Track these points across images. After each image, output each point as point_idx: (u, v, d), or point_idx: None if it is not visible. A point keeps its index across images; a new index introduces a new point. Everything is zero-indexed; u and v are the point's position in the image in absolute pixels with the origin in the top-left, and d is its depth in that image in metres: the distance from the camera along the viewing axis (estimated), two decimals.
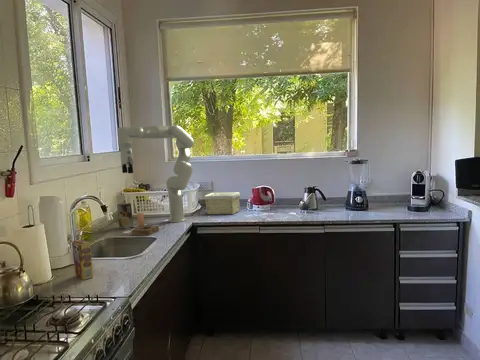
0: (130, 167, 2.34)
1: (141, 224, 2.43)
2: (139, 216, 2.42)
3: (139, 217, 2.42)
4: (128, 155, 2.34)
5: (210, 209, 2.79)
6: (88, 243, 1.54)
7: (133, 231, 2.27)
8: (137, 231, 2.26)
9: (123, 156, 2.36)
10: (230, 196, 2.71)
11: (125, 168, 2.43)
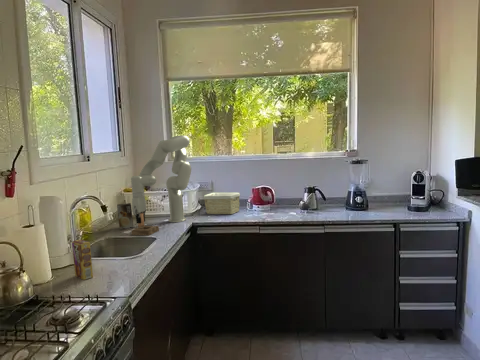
0: None
1: (141, 224, 2.43)
2: None
3: None
4: None
5: (209, 209, 2.79)
6: (88, 243, 1.54)
7: (133, 231, 2.27)
8: (137, 231, 2.26)
9: (143, 203, 2.44)
10: (228, 196, 2.70)
11: None
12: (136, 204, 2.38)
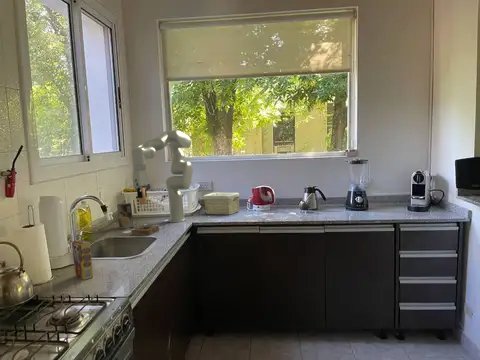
0: None
1: (142, 199, 2.27)
2: None
3: None
4: None
5: (209, 209, 2.80)
6: (88, 243, 1.54)
7: (133, 231, 2.27)
8: (137, 231, 2.26)
9: (145, 177, 2.28)
10: (226, 197, 2.69)
11: None
12: (137, 177, 2.23)
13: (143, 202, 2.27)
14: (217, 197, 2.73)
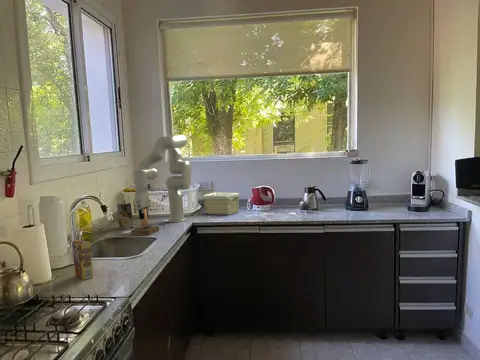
0: None
1: (144, 220, 2.28)
2: None
3: None
4: None
5: (208, 209, 2.80)
6: (88, 243, 1.54)
7: (133, 231, 2.27)
8: (137, 231, 2.26)
9: (147, 198, 2.30)
10: (225, 197, 2.69)
11: None
12: (139, 199, 2.24)
13: (145, 223, 2.29)
14: (216, 197, 2.73)
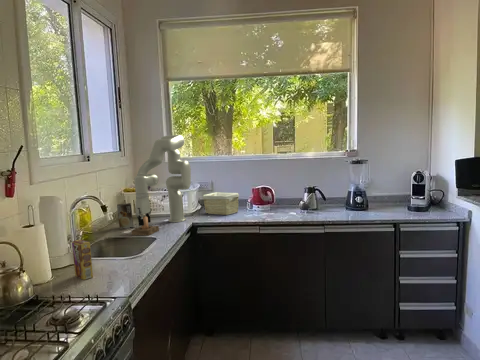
0: None
1: (145, 228, 2.29)
2: (143, 220, 2.28)
3: (143, 221, 2.29)
4: None
5: (208, 209, 2.81)
6: (88, 243, 1.54)
7: (133, 231, 2.27)
8: (137, 231, 2.26)
9: (147, 205, 2.30)
10: (224, 197, 2.69)
11: None
12: (140, 206, 2.24)
13: None
14: (215, 197, 2.73)
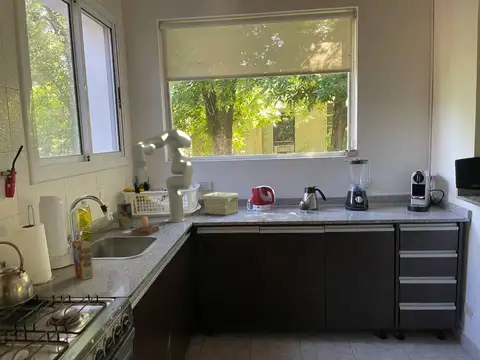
0: None
1: (145, 228, 2.29)
2: (143, 220, 2.28)
3: (143, 221, 2.29)
4: None
5: (208, 209, 2.81)
6: (88, 243, 1.54)
7: (133, 231, 2.27)
8: (137, 231, 2.26)
9: (145, 174, 2.28)
10: (222, 197, 2.68)
11: None
12: (137, 174, 2.23)
13: None
14: (214, 197, 2.73)
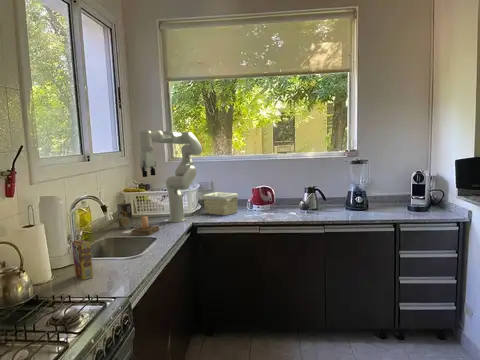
0: None
1: (145, 228, 2.29)
2: (143, 220, 2.28)
3: (143, 221, 2.29)
4: None
5: (207, 208, 2.82)
6: (88, 243, 1.54)
7: (133, 231, 2.27)
8: (137, 231, 2.26)
9: (152, 159, 2.40)
10: (221, 197, 2.68)
11: None
12: (145, 158, 2.34)
13: None
14: (213, 197, 2.74)
